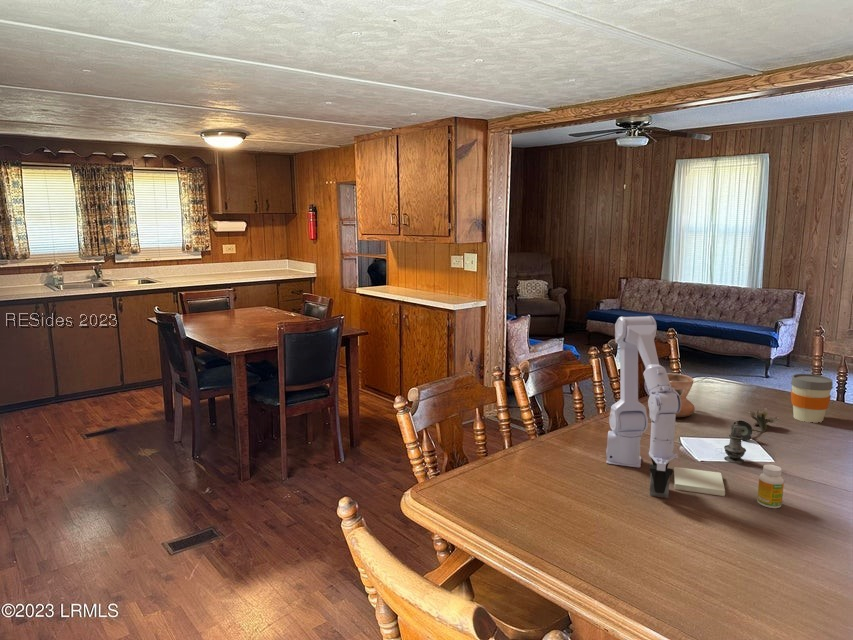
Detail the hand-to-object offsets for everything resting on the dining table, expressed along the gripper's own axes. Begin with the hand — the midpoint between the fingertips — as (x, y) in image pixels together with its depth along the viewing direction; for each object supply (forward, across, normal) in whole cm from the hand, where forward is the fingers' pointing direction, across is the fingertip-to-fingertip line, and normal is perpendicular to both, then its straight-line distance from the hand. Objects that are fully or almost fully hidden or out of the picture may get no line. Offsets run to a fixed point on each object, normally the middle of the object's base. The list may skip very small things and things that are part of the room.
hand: (659, 486), depth 158 cm
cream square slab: (+2, +10, -10) cm, 14 cm away
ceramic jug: (+2, +71, -5) cm, 71 cm away
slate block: (+2, 0, 0) cm, 2 cm away
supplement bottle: (+2, +3, -26) cm, 26 cm away
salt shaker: (+2, +31, -21) cm, 38 cm away
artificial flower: (+2, +60, -30) cm, 67 cm away
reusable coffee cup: (+2, +81, -50) cm, 95 cm away
